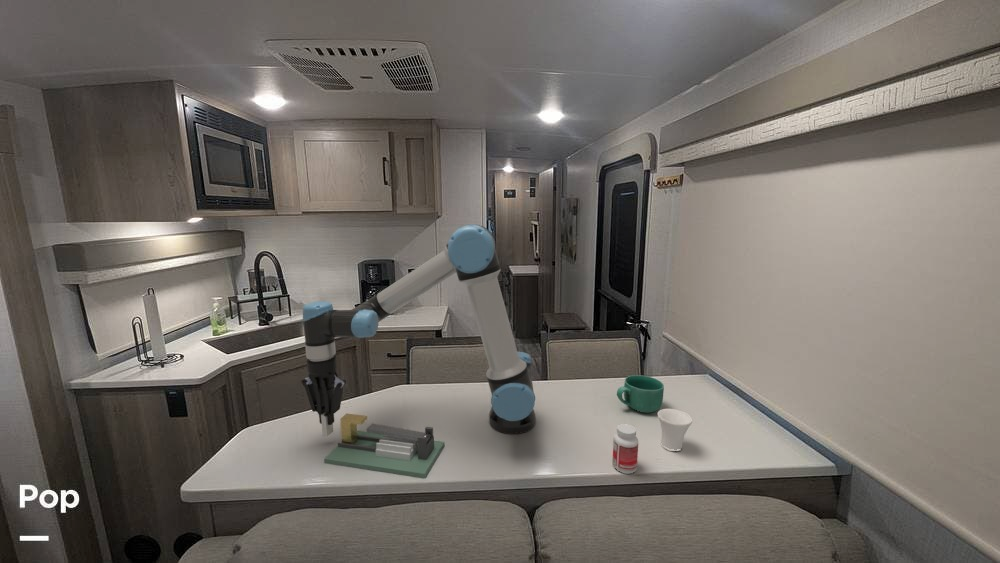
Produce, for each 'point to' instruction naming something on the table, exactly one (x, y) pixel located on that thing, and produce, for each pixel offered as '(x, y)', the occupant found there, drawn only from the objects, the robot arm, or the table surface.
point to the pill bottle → (625, 449)
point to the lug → (351, 427)
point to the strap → (397, 432)
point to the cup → (673, 427)
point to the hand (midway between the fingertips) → (328, 433)
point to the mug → (642, 393)
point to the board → (381, 461)
